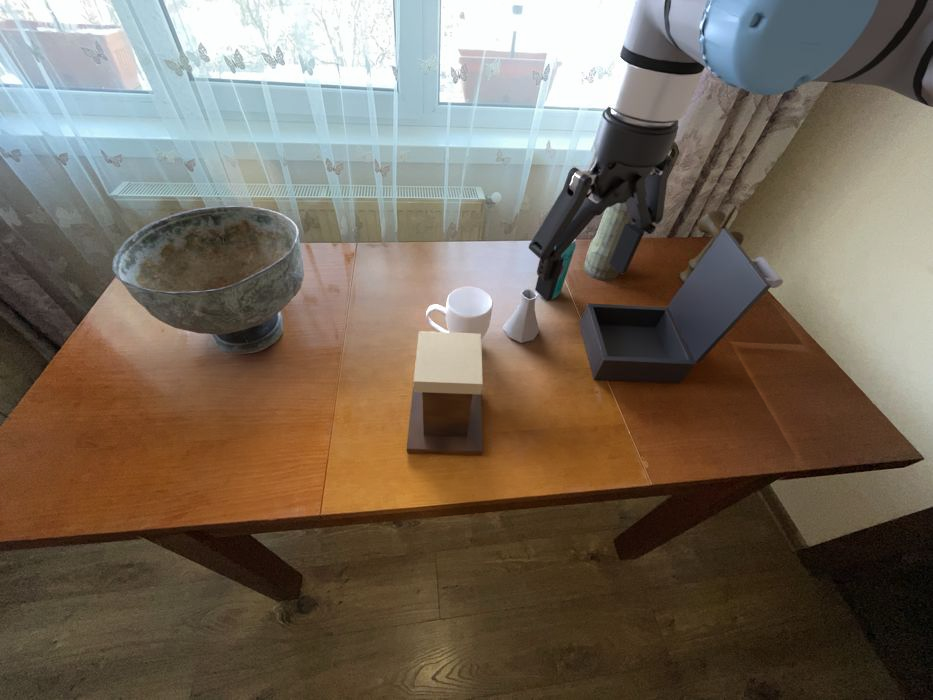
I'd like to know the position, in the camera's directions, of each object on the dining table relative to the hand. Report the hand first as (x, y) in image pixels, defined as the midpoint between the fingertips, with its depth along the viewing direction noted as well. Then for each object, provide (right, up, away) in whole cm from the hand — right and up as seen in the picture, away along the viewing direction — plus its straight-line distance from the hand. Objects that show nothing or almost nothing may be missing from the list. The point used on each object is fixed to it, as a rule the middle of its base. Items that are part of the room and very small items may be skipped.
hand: (581, 281), depth 56 cm
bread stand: (-20, -22, +12) cm, 32 cm away
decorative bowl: (-59, -5, +23) cm, 63 cm away
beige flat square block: (-19, -12, +1) cm, 22 cm away
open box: (+17, -10, +26) cm, 32 cm away
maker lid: (+26, 0, +14) cm, 30 cm away
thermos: (+17, +10, +43) cm, 48 cm away
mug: (-18, -8, +24) cm, 31 cm away
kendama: (+39, +7, +43) cm, 58 cm away
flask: (-5, -6, +28) cm, 29 cm away
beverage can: (+2, +3, +36) cm, 36 cm away
